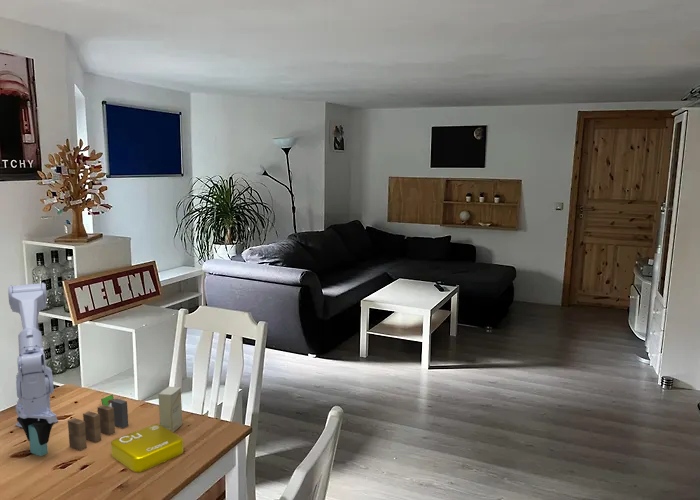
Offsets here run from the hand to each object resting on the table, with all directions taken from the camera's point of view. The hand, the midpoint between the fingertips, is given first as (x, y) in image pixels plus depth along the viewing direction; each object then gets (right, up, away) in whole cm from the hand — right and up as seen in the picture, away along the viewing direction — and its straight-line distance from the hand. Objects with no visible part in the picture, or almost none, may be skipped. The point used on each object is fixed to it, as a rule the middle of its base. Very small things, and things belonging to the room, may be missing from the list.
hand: (38, 441), depth 156 cm
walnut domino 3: (+14, -2, +13) cm, 19 cm away
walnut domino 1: (+9, -3, +4) cm, 10 cm away
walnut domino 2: (+12, -2, +8) cm, 14 cm away
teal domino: (0, -3, +1) cm, 3 cm away
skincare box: (+32, -2, +16) cm, 36 cm away
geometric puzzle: (+10, 0, +23) cm, 25 cm away
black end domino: (+16, -1, +17) cm, 23 cm away
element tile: (+30, -4, +1) cm, 31 cm away
